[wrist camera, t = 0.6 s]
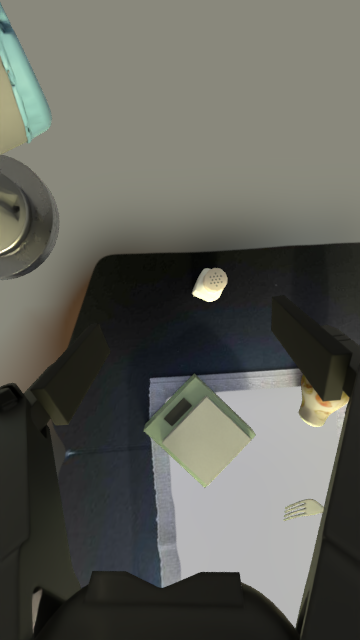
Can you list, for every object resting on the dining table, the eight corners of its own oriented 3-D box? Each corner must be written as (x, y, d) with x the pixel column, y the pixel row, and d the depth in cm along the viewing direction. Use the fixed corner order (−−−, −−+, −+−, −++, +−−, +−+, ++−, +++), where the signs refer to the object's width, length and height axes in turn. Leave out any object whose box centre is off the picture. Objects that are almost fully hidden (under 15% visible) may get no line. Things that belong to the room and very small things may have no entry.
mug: (284, 419, 38) (311, 415, 29) (289, 370, 42) (314, 355, 33) (327, 434, 36) (370, 435, 27) (328, 382, 40) (364, 369, 32)
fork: (400, 516, 39) (411, 525, 37) (278, 513, 38) (283, 523, 36) (401, 500, 39) (412, 509, 37) (279, 497, 38) (284, 506, 36)
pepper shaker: (219, 283, 37) (235, 272, 27) (210, 303, 37) (223, 299, 27) (199, 274, 37) (208, 260, 27) (190, 294, 37) (196, 287, 27)
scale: (145, 423, 37) (142, 433, 34) (194, 373, 37) (196, 378, 34) (203, 478, 37) (205, 492, 34) (251, 428, 37) (257, 437, 34)
